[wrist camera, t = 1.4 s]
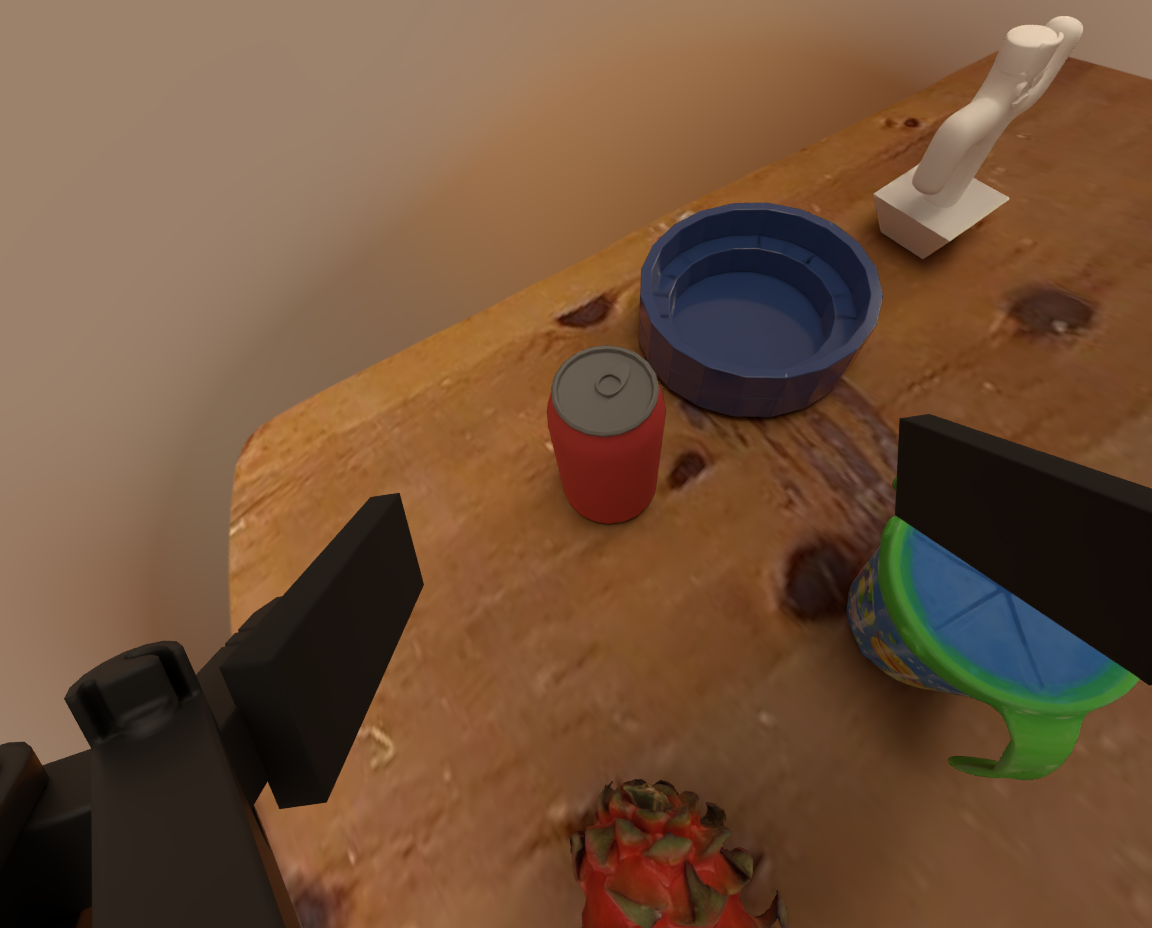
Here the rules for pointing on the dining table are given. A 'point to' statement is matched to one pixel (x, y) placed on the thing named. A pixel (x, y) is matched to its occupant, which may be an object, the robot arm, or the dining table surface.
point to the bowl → (756, 308)
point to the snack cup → (979, 650)
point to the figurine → (973, 143)
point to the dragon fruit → (662, 864)
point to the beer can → (607, 432)
